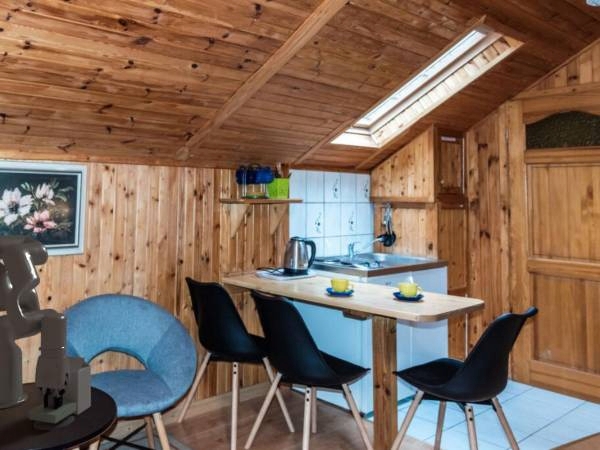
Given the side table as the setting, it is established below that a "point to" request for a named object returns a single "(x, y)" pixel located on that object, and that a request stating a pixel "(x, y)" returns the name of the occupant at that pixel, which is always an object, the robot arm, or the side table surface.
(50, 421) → the square plate with knob
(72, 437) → the side table surface
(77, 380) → the milk carton
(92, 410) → the side table surface
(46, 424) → the mat
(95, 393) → the side table surface
